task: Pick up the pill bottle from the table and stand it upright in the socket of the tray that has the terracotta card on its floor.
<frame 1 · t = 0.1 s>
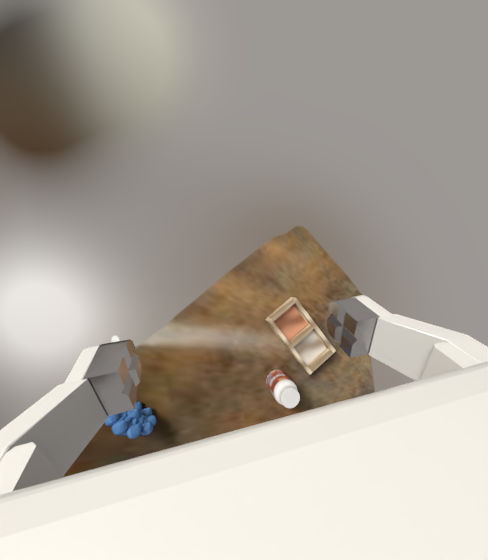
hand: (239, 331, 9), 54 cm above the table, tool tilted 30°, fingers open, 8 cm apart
tray: (297, 333, 67), on the table
pill bottle: (276, 379, 65), on the table
grapes: (137, 408, 59), on the table
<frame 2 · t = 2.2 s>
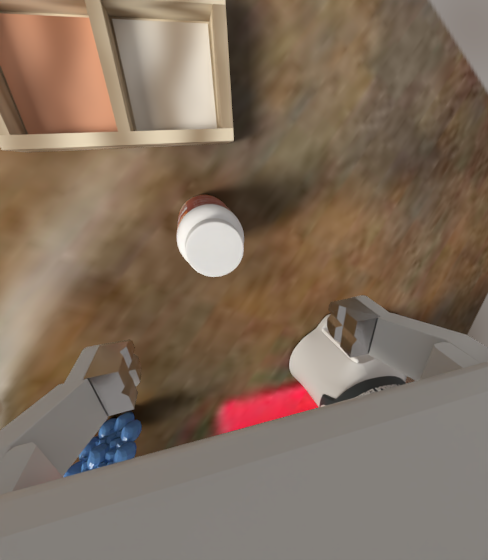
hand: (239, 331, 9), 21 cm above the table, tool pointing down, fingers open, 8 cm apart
tray: (120, 84, 21), on the table
pill bottle: (204, 220, 28), on the table
grapes: (117, 420, 39), on the table
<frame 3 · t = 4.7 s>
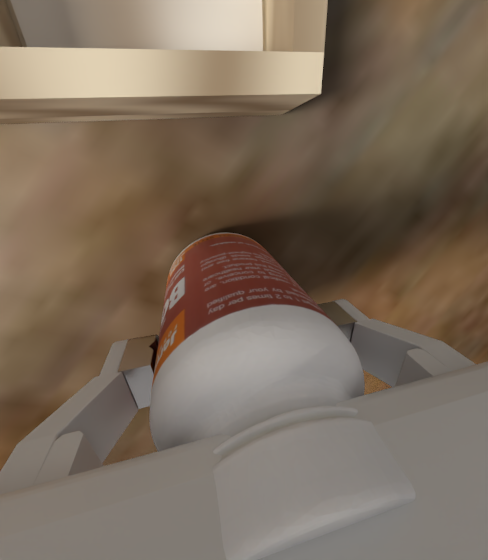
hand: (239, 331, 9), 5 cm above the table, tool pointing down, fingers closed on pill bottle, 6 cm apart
pill bottle: (222, 280, 14), on the table, touching gripper
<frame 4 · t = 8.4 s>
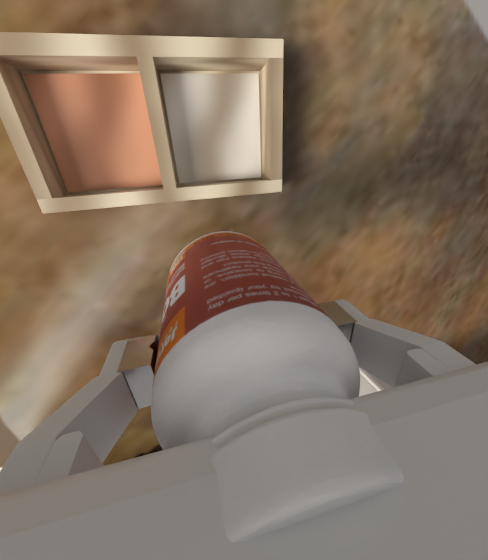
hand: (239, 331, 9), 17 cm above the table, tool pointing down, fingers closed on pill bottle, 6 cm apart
tray: (163, 135, 20), on the table
pill bottle: (222, 279, 14), point 12 cm above the table, touching gripper
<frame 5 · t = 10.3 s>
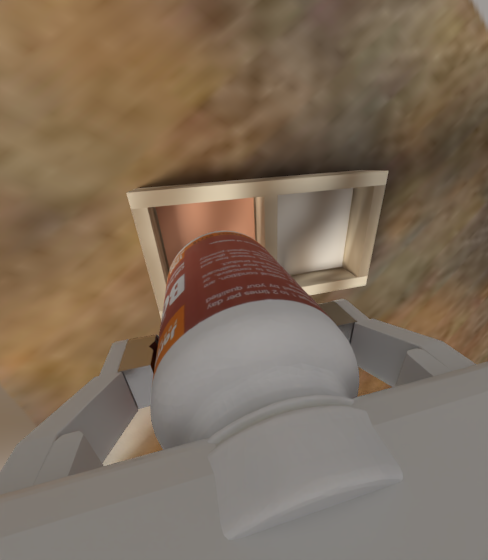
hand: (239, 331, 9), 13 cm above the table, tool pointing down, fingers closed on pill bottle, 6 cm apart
tray: (259, 237, 21), on the table
pill bottle: (222, 278, 14), point 8 cm above the table, touching gripper
when the fingers open (7 cm above the table, at t = 12.1 s): pill bottle moves 1 cm, resting on tray.
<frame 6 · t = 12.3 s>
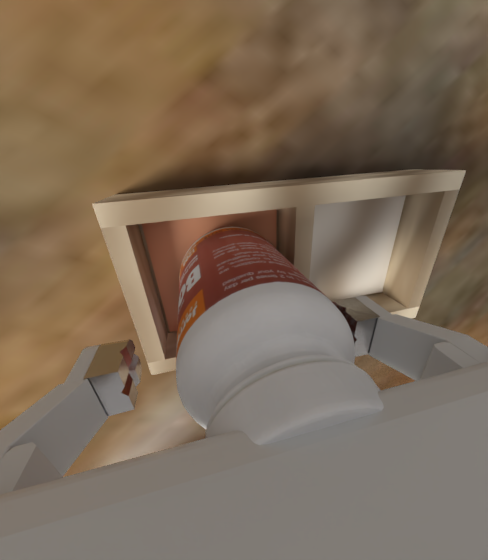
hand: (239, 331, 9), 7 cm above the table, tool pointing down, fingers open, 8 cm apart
tray: (279, 256, 16), on the table
pill bottle: (229, 271, 15), point 1 cm above the table, touching tray
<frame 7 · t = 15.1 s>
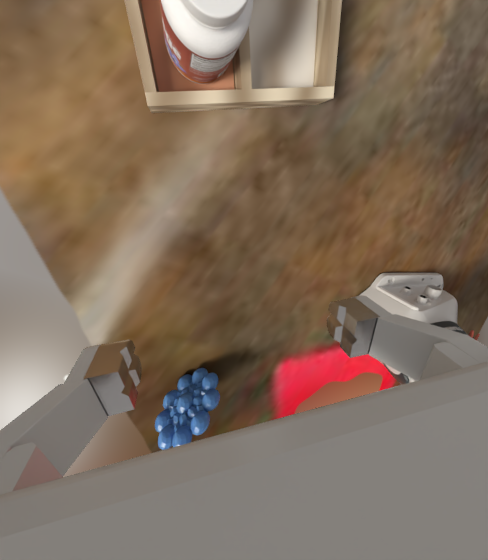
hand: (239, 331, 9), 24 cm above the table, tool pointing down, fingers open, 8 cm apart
tray: (235, 48, 24), on the table
pill bottle: (198, 45, 22), point 1 cm above the table, touching tray
grapes: (189, 377, 43), on the table
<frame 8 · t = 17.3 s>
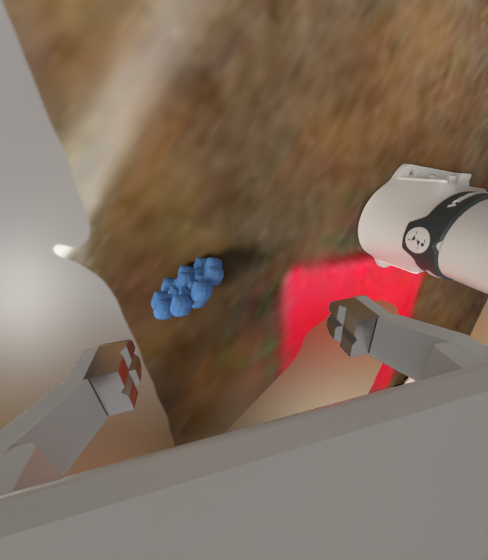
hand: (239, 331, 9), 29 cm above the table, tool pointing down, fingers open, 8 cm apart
grapes: (190, 273, 39), on the table
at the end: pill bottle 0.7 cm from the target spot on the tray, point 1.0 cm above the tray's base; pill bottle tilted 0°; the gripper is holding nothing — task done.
